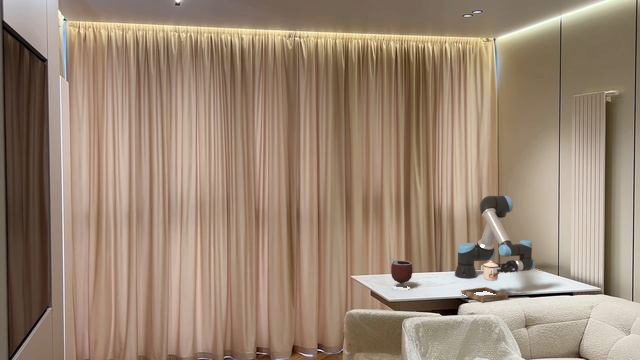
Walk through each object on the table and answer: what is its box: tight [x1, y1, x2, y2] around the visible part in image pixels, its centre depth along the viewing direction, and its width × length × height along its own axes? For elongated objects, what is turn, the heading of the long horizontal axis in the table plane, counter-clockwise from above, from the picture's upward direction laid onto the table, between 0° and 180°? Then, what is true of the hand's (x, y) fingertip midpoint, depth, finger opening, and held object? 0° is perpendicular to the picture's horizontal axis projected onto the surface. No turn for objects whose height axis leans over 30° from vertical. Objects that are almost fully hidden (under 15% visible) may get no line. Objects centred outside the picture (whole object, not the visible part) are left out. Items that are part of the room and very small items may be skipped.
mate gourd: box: [390, 256, 413, 288], centre depth 396 cm, size 16×14×20 cm
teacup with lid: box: [482, 260, 501, 282], centre depth 376 cm, size 12×9×12 cm
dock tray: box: [460, 286, 509, 304], centre depth 376 cm, size 20×20×3 cm
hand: (486, 269), depth 374 cm, fingers closed on teacup with lid, 9 cm apart
